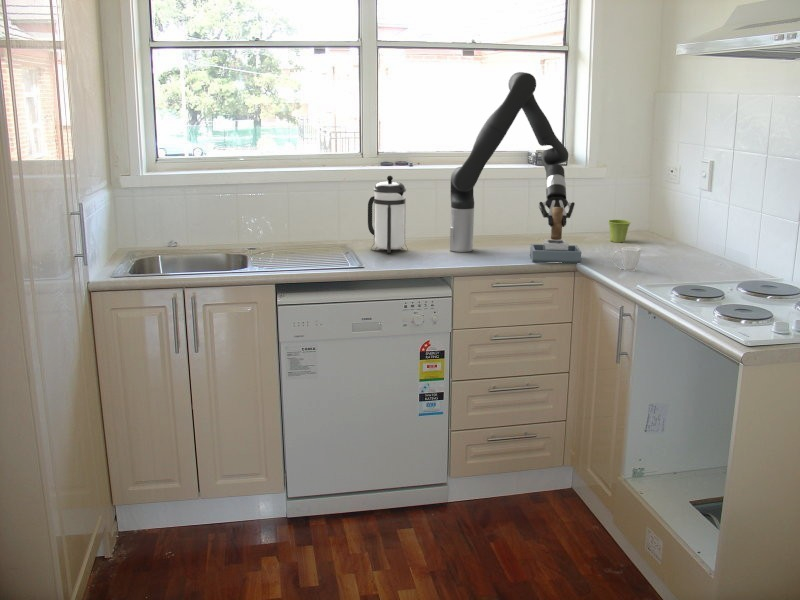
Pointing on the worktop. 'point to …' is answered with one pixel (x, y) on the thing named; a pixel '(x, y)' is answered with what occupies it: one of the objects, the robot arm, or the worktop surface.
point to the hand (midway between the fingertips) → (557, 225)
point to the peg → (557, 223)
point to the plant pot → (618, 230)
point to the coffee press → (388, 215)
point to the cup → (629, 257)
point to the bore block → (555, 245)
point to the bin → (555, 254)
